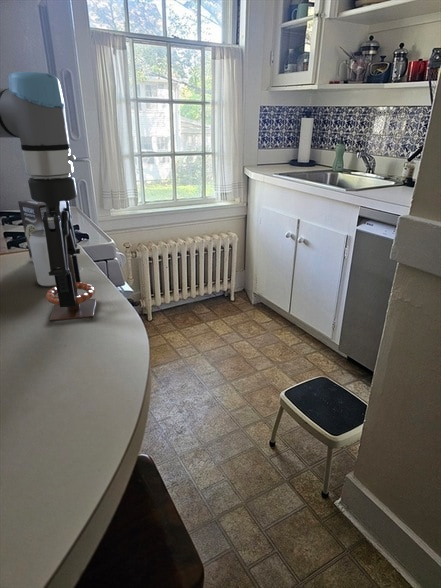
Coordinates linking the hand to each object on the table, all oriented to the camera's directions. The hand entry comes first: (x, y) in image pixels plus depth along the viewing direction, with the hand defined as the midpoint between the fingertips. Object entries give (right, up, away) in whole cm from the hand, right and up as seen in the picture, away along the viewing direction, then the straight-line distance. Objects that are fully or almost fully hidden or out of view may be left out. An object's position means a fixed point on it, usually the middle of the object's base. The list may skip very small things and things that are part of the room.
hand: (71, 295), depth 76 cm
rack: (0, -4, +2) cm, 4 cm away
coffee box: (-17, +9, +29) cm, 35 cm away
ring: (0, 0, 0) cm, 0 cm away
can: (-11, +3, +16) cm, 20 cm away
